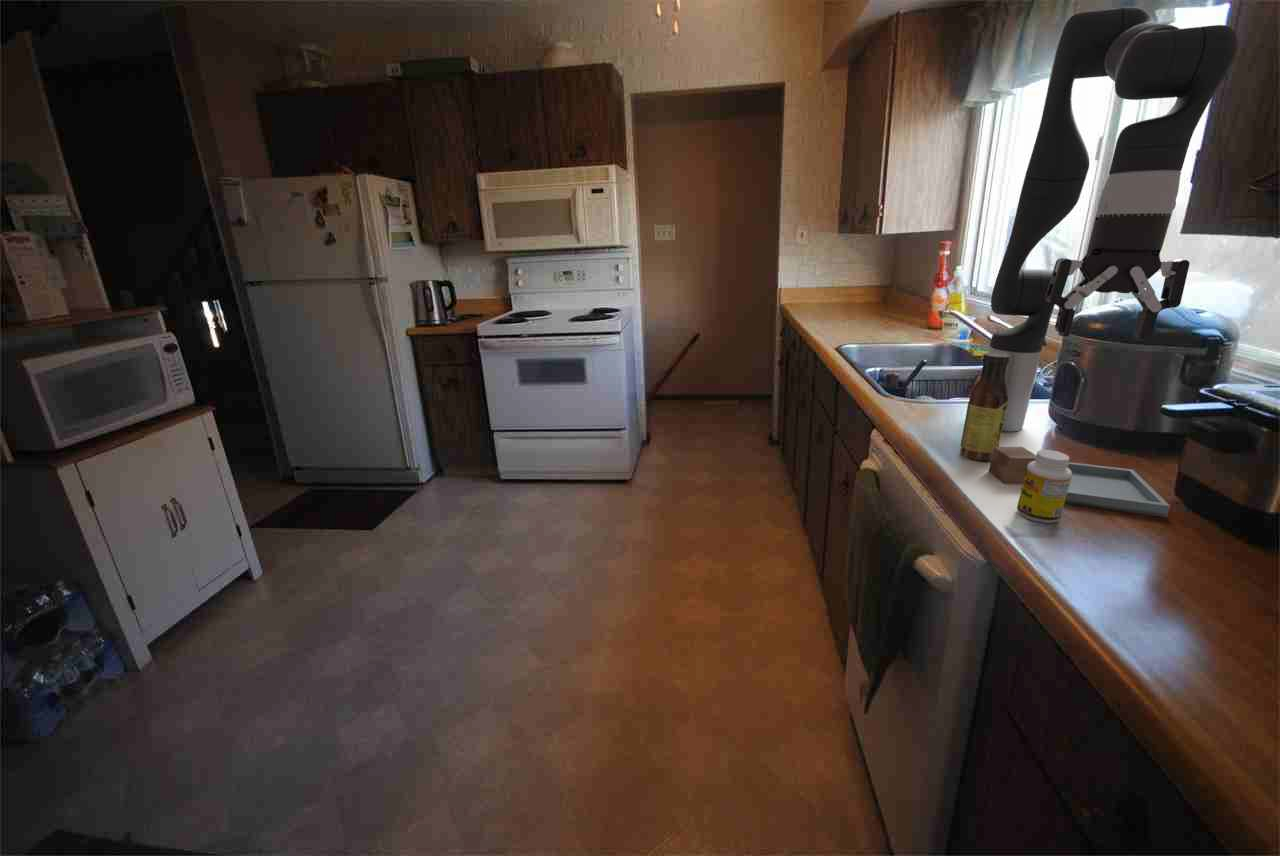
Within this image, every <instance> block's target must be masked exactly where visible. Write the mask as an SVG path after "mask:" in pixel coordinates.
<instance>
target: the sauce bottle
mask: <svg viewBox="0 0 1280 856" xmlns="http://www.w3.org/2000/svg"><path fill="white" fill-rule="evenodd" d="M1008 363H1009V355H1006V354H1001V353H988V352H987V353H984V354H983V357H982V369H981V373H980V375H979V376H980V378H979V380H978V381H976V382H975V384H974V385H973V386H972V387H971V390H970V394H969V400H968V403H967V408H966V413H965V419H964V424H963V429H962V436H961V442H960V454H961V455H962V456H963V457H965V458H966V459H968V460H969V459H970V460H974V461H979V462H989V461H990V462H991V457H992V453H993V448H994V447H1000V446H999V445H1000V444H1001V443H1000V442H1001V437H1002V436H1001V435H1002V432H1003V431H1002V429H1003V423H1004V419H1005V413H1006V409H1007V404H1008V394H1007V388H1006V382H1005V372H1006V367H1007V364H1008Z"/></svg>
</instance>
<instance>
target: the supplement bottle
mask: <svg viewBox="0 0 1280 856" xmlns="http://www.w3.org/2000/svg"><path fill="white" fill-rule="evenodd" d="M1035 455H1036V458H1035V461H1032V462H1030V463H1029V464H1028V466H1027V469H1026V473H1025V477H1024V481H1023V484H1021V489H1020V494H1019V498H1018V502H1017V506H1016V510H1017V512H1018V514H1019V515H1021V516H1022V517H1024V518H1025V519H1027V520H1030V521H1033V522H1037V523H1042V524H1051V523H1057V522H1058V521H1059V520H1060V519H1061V515H1062V512H1063V509H1064V506H1065V504H1064V502H1065V499H1066V495H1067V492H1068V488H1069V485H1070V482H1071V478H1072V472H1071V470H1070V469H1069V468H1068V463H1069V462H1070V457H1069V455H1067V454H1066V453H1063V452H1060V451H1058V450H1057V451H1056V450H1049V449H1041V450H1038V451H1037V453H1036V454H1035Z"/></svg>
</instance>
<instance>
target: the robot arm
mask: <svg viewBox="0 0 1280 856" xmlns="http://www.w3.org/2000/svg"><path fill="white" fill-rule="evenodd" d="M1055 47H1056V49H1055V51H1054V57H1053V61H1052V66H1051V70H1050V74H1049V75H1050V76H1049V81H1048V85H1047V91H1046V97H1045V101H1044V105H1043V110H1042V115H1041V119H1040V123H1039V128H1038V132H1037V134H1036V137H1035V142H1034V145H1033V148H1032V152H1031V155H1030V159H1029V161H1028V164H1027V168H1026V172H1025V175H1024V179H1023V182H1022V186H1021V191H1020V195H1019V199H1018V204H1017V206H1016V207H1017V208H1016V212H1015V217H1014V219H1013V220H1014V221H1013V225H1012V229H1011V233H1010V237H1009V240H1008V243H1007V245H1006V250H1005V251H1004V256H1003V258H1002V262H1001V264H1000V267H999V270H998V273H997V276H996V278H995V283H994V285H993V288H992V292H991V299H990V307H991V311H992V312H993V313H994V314H996V315H1001V316H1015V317H1016V316H1018V317H1019V316H1021V317H1027V319H1026V320H1025V321H1024V322H1021V323H1020V324H1019V325H1016V326H1013V327H1009V328H1006V329H1003V330H998V331H996V332H994V333H993V334H992V335H991V338H990V343H989V347H988V352H987V353H1001V354H1006V355H1009V363H1008V364H1007V367H1006V372H1005V382H1006V388H1007V394H1008V404H1007V409H1006V413H1005V419H1004V423H1003V429H1002V432H1018V431H1019V432H1020V431H1022V430H1023V429H1024V428H1023V427H1024V423H1025V419H1026V415H1027V412H1028V407H1029V403H1030V399H1031V395H1032V392H1033V387H1034V383H1035V380H1036V379H1035V378H1036V376H1037V375H1036V374H1037V371H1038V366H1039V362H1040V358H1041V354H1042V350H1043V346H1044V343H1045V339H1046V336H1047V332H1048V329H1049V324H1050V322H1051V318H1052V315H1053V311H1054V310H1055V309H1054V308H1055V306H1057V307H1058V311H1057V316H1056V320H1055V325H1054V330H1055V332H1058V335H1059V336H1060V337H1064V338H1065V337H1067V338H1068V337H1070V333H1071V329H1072V326H1073V321H1074V318H1075V314H1076V309H1074V307H1076V306H1077V305H1078V304H1080V302H1082V301H1083V300H1084V299H1085V298H1088V297H1089V296H1091V295H1092V294H1093V293H1094V292H1097V293H1105V294H1107V293H1108V294H1109V293H1114V292H1115V293H1120V294H1130V293H1131V294H1132V296H1133V297H1135V299H1136V301H1137V302H1138V304H1139V305H1140V307H1141V309H1142V310H1139V311H1138V314H1137V318H1136V321H1135V324H1134V327H1133V331H1132V334H1131V337H1132V339H1134V340H1136V341H1144V340H1146V338H1147V337H1150V336H1151V335H1152V334H1153V331H1154V329H1155V325H1156V323H1157V319H1158V314H1159V313H1160V312H1162V311H1163V310H1166V309H1175V308H1177V307H1179V306H1180V305H1181V303H1182V298H1183V294H1184V290H1185V285H1186V281H1187V277H1188V273H1189V268H1190V261H1189V260H1187V259H1178V258H1176V259H1175V258H1174V259H1172V260H1161V256H1160V253H1161V251H1162V249H1163V245H1164V242H1165V238H1166V236H1167V232H1168V228H1169V226H1170V221H1171V219H1172V215H1173V211H1174V210H1175V209H1176V205H1177V197H1178V194H1179V188H1180V181H1181V174H1182V169H1183V167H1184V163H1185V160H1186V157H1187V153H1188V149H1189V146H1190V143H1191V139H1192V137H1193V134H1194V132H1195V130H1196V128H1197V127H1198V124H1199V122H1200V120H1201V119H1202V116H1203V115H1204V113H1205V110H1206V109H1207V107H1208V105H1209V104H1210V102H1211V100H1212V98H1213V97H1214V94H1215V93H1216V91H1217V90H1218V89H1219V87H1220V85H1221V84H1222V82H1223V81H1224V79H1225V77H1226V76H1227V75H1228V72H1229V71H1230V69H1231V67H1232V65H1233V64H1234V62H1235V59H1236V57H1237V54H1238V51H1239V38H1238V36H1237V33H1236V31H1235V30H1234V29H1233V28H1232V27H1231V26H1229V25H1225V24H1214V25H1206V26H1205V25H1203V26H1196V27H1186V28H1179V27H1178V26H1176V25H1171V24H1166V23H1160V22H1157V21H1156V20H1155V19H1154V17H1153V16H1152V15H1151V14H1150V13H1149V11H1147V10H1146V9H1144V8H1142V7H1138V6H1122V7H1110V8H1105V9H1104V8H1103V9H1097V10H1088V11H1087V10H1086V11H1082V12H1081V11H1080V12H1077V13H1074V14H1073V15H1071V16H1070V17H1069V18H1067V20H1066V22H1065V24H1064V26H1063V27H1062V30H1061V32H1060V35H1059V38H1058V40H1057V45H1056V46H1055ZM1099 77H1100V78H1103V77H1109V78H1110V79H1111V80H1112V81H1113V82H1114V91H1115V94H1116V96H1117V97H1118V98H1120V99H1123V100H1129V101H1134V100H1135V101H1138V100H1139V101H1141V100H1151V99H1153V100H1154V99H1171V98H1172V99H1173V98H1176V100H1175V102H1174V105H1173V106H1172V107H1171V109H1170V110H1169V111H1168V112H1166V114H1164V115H1161V116H1157V117H1154V118H1149V119H1144V120H1140V121H1136V122H1134V123H1131V124H1129V125H1126V126H1125V127H1124V128H1122V129H1121V131H1120V133H1119V134H1118V137H1117V140H1116V143H1115V147H1114V153H1113V155H1112V159H1111V164H1110V167H1109V171H1108V176H1107V179H1106V181H1105V184H1104V187H1103V189H1102V190H1101V191H1102V192H1101V195H1100V197H1099V201H1098V206H1097V210H1096V214H1095V217H1094V222H1093V226H1092V229H1091V234H1090V238H1089V241H1088V244H1087V245H1088V247H1087V251H1086V254H1085V255H1084V257H1083V258H1082V259H1081V260H1078V259H1069V258H1066V257H1065V258H1062V257H1061V258H1058V259H1057V260H1056V261H1055V264H1054V267H1053V269H1029V268H1028V269H1025V268H1024V269H1023V265H1024V264H1025V262H1026V259H1027V258H1028V257H1029V255H1030V254H1031V252H1032V251H1033V249H1034V248H1035V247H1036V246H1037V245H1038V244H1039V242H1040V241H1042V239H1043V238H1044V237H1045V236H1047V235H1048V234H1049V233H1050V232H1051V231H1052V230H1053V229H1055V228H1056V226H1058V225H1059V224H1060V223H1061V222H1062V221H1063V220H1064V219H1065V218H1066V217H1067V216H1068V215H1069V214H1070V213H1071V212H1072V210H1074V208H1075V207H1076V205H1077V204H1078V202H1079V199H1080V197H1081V194H1082V190H1083V188H1084V184H1085V181H1086V178H1087V175H1088V172H1089V168H1090V155H1089V152H1088V150H1087V146H1086V144H1085V141H1084V139H1083V137H1082V135H1081V132H1080V130H1079V128H1078V125H1077V122H1076V120H1075V119H1076V118H1075V115H1074V111H1073V106H1072V105H1073V104H1072V94H1073V86H1074V83H1075V80H1078V79H1089V78H1099ZM1077 269H1079V271H1080V273H1081V274H1082V276H1083V279H1082V280H1081V281H1079V282H1078V283H1077V284H1076V285H1074V287H1073V288H1072V289H1071V290H1070V291H1069V292H1068V293H1066V295H1064V296H1063V292H1064V290H1065V287H1066V283H1067V281H1068V277H1069V276H1072V275H1073V274H1074V273H1075V272H1076V271H1077ZM1159 271H1161V276H1162V277H1163V278H1164V282H1163V285H1162V286H1163V287H1162V291H1161V296H1160V298H1158V297H1157V295H1156V292H1155V290H1154V288H1153V287H1152V285H1151V283H1150V282H1149V279H1151V278H1152V277H1153V276H1154V275H1156V273H1158V272H1159Z"/></svg>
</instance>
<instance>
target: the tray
mask: <svg viewBox="0 0 1280 856" xmlns="http://www.w3.org/2000/svg"><path fill="white" fill-rule="evenodd" d="M1068 468H1069V469H1070V470H1071V472H1072V478H1071V482H1070V485H1069V488H1068V492H1067V495H1066V499H1065V502H1064V505H1071V506H1080V507H1086V508H1095V509H1099V510H1109V511H1116V512H1123V513H1129V514H1137V515H1144V516H1151V517H1158V518H1164V519H1165V518H1166V519H1167V516H1168V514H1169V511H1170V508H1171V505H1170V504H1169V503H1168V502H1167V501H1166V500H1165V499H1164V498H1163V497H1162V496H1161V495H1160V494H1159V493H1158V492H1157V491H1156V490H1155V489H1154V488H1153V487H1152V486H1151V485H1149V484H1148V483H1147V481H1145V480H1144V478H1142V477H1141V476H1140V475H1139V474H1138V473H1137V472H1136V471H1135V470H1134V469H1131V468H1122V467H1112V466H1104V465H1096V464H1095V465H1094V464H1088V463H1079V462H1072V461H1071V462H1070V461H1069V463H1068Z"/></svg>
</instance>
